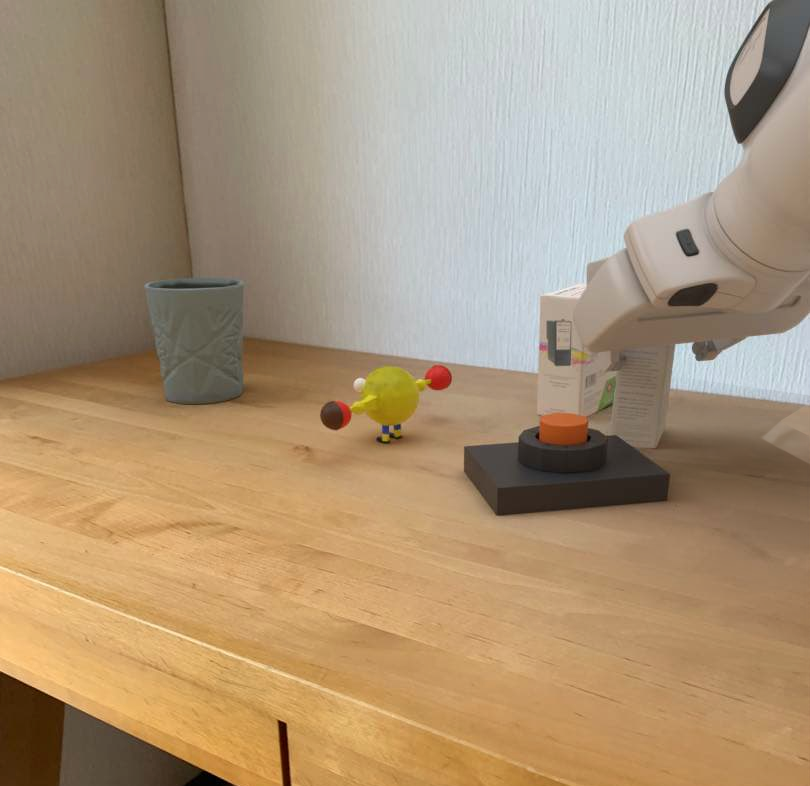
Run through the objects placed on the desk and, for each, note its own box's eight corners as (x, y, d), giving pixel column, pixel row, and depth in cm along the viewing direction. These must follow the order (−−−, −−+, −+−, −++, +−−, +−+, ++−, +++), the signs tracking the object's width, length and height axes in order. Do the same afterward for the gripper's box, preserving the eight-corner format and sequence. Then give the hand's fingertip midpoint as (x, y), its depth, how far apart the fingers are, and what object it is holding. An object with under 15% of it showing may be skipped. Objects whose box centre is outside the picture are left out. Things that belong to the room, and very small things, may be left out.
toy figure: (420, 413, 88) (419, 345, 85) (467, 421, 85) (468, 351, 82) (301, 461, 75) (295, 383, 72) (352, 473, 72) (348, 392, 69)
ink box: (571, 396, 93) (580, 250, 87) (616, 403, 90) (627, 252, 84) (533, 415, 87) (539, 259, 81) (579, 422, 84) (589, 262, 78)
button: (577, 433, 69) (578, 411, 68) (594, 446, 65) (595, 424, 65) (532, 436, 68) (533, 414, 67) (547, 450, 65) (548, 427, 64)
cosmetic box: (618, 427, 82) (629, 294, 77) (667, 431, 81) (682, 296, 76) (607, 446, 77) (618, 305, 72) (659, 451, 75) (674, 307, 71)
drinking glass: (141, 396, 97) (125, 284, 92) (214, 379, 104) (203, 274, 99) (197, 410, 91) (183, 291, 86) (271, 391, 98) (262, 280, 93)
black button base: (614, 459, 74) (617, 413, 72) (667, 501, 65) (673, 449, 63) (463, 471, 72) (464, 424, 70) (496, 516, 63) (498, 463, 61)
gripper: (843, 208, 67) (740, 319, 79) (611, 220, 61) (538, 338, 73) (879, 275, 65) (767, 378, 77) (642, 295, 59) (562, 403, 71)
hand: (654, 359), depth 75 cm, fingers open, 8 cm apart
